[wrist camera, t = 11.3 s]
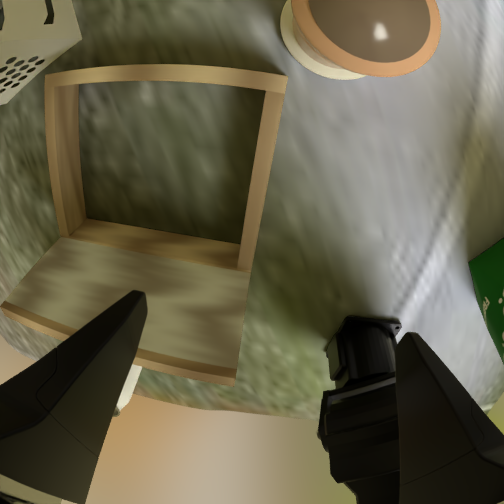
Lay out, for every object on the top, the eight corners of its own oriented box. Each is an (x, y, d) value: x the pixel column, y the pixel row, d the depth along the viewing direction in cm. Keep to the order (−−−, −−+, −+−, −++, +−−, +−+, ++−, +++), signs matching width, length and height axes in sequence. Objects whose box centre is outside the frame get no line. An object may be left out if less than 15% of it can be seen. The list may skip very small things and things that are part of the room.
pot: (393, 4, 11) (448, -20, 5) (376, 86, 15) (428, 98, 9) (295, -24, 11) (303, -72, 5) (279, 60, 15) (279, 53, 9)
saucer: (396, 3, 12) (399, 1, 11) (378, 92, 16) (381, 93, 15) (289, -27, 11) (289, -30, 11) (271, 66, 15) (271, 65, 15)
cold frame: (286, 76, 16) (298, 79, 6) (252, 257, 24) (233, 386, 14) (70, 70, 15) (-55, 105, 6) (80, 226, 24) (4, 315, 14)
